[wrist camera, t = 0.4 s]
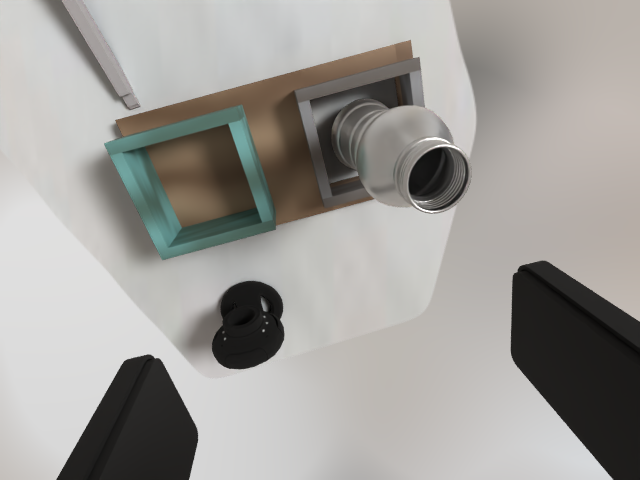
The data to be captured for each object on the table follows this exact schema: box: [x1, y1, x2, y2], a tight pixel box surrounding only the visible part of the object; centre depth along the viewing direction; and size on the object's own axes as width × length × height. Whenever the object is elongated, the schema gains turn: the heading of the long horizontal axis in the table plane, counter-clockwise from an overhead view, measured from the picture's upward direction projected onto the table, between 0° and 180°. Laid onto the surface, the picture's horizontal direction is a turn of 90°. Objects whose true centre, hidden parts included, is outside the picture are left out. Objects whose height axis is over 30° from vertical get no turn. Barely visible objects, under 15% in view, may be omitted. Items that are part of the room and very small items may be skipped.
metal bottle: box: [331, 99, 471, 214], centre depth 27 cm, size 6×7×20 cm
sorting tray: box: [104, 40, 425, 260], centre depth 33 cm, size 14×28×6 cm, turn 104°
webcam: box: [212, 281, 284, 369], centre depth 39 cm, size 8×8×10 cm
